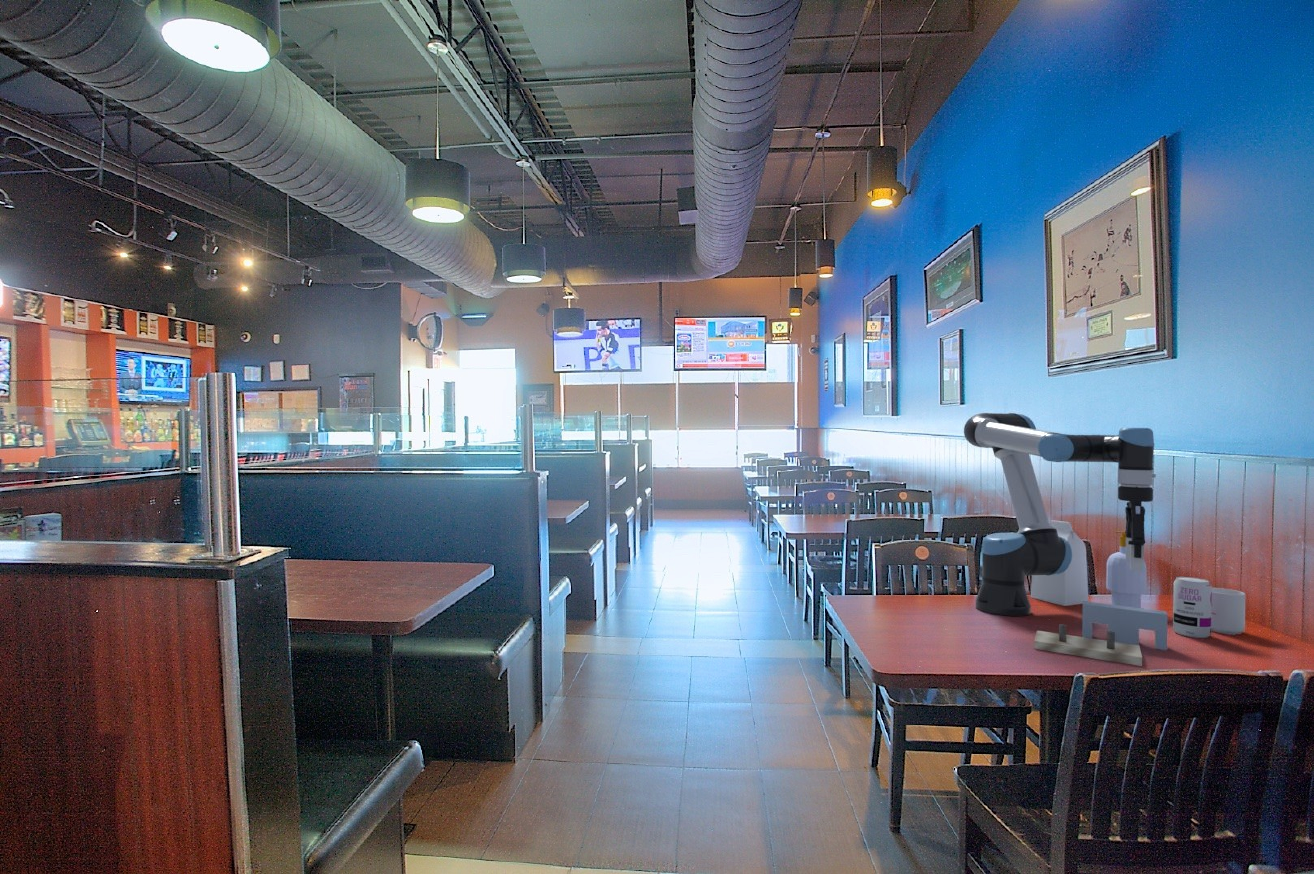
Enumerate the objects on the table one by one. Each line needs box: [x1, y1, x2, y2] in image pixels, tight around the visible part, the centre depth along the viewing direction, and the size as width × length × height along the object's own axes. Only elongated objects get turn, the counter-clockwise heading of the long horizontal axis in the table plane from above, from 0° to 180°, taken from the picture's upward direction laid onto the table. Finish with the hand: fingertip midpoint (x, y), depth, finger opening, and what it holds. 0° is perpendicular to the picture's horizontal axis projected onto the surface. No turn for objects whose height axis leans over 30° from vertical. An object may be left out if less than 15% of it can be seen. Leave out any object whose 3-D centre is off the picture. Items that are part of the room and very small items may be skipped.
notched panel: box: [1081, 601, 1168, 651], centre depth 174 cm, size 18×4×9 cm, turn 57°
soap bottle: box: [1105, 530, 1148, 608], centre depth 209 cm, size 10×10×24 cm
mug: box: [1211, 587, 1246, 636], centre depth 188 cm, size 12×9×11 cm
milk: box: [1030, 519, 1090, 607], centre depth 220 cm, size 12×12×26 cm
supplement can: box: [1172, 576, 1213, 639], centre depth 182 cm, size 8×8×15 cm
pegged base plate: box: [1033, 623, 1143, 667], centre depth 166 cm, size 22×11×6 cm, turn 57°
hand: (1134, 566), depth 176 cm, fingers open, 13 cm apart
